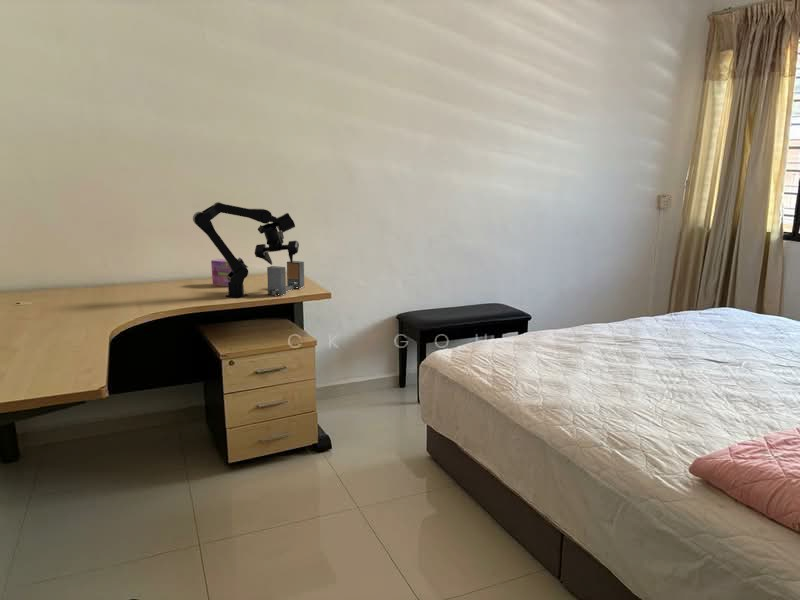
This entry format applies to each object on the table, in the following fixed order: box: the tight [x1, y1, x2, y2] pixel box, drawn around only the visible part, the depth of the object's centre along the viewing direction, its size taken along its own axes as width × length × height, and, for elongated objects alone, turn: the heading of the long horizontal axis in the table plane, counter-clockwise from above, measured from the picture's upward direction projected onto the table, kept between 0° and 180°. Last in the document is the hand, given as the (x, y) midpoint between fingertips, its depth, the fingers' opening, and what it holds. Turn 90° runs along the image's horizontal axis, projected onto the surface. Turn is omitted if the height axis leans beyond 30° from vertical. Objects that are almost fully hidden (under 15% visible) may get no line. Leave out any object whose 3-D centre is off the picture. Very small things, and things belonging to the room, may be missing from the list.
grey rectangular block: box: [286, 260, 305, 289], centre depth 271 cm, size 4×6×12 cm
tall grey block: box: [266, 265, 287, 296], centre depth 256 cm, size 4×6×12 cm
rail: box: [271, 282, 298, 296], centre depth 266 cm, size 24×2×2 cm, turn 161°
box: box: [210, 258, 231, 287], centre depth 274 cm, size 10×6×12 cm, turn 73°
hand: (281, 263), depth 267 cm, fingers open, 9 cm apart
